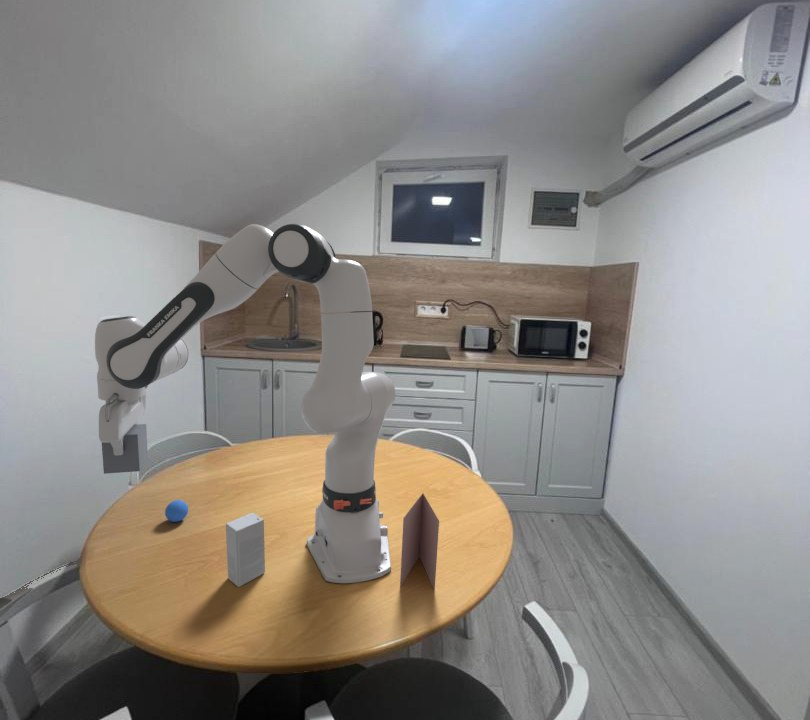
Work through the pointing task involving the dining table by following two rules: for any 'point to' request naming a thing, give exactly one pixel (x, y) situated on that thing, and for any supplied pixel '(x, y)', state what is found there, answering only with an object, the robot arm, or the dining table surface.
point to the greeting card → (420, 539)
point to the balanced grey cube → (127, 452)
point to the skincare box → (245, 548)
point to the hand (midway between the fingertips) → (125, 447)
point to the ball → (176, 511)
